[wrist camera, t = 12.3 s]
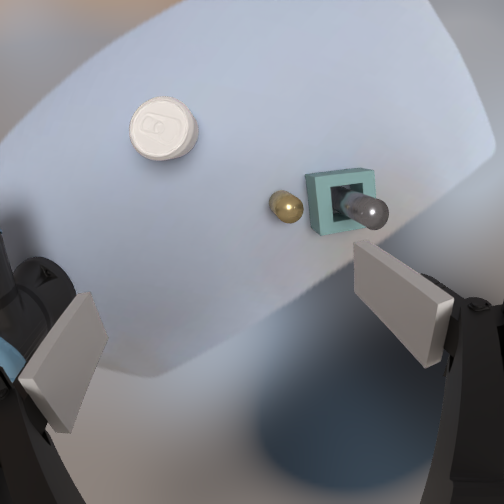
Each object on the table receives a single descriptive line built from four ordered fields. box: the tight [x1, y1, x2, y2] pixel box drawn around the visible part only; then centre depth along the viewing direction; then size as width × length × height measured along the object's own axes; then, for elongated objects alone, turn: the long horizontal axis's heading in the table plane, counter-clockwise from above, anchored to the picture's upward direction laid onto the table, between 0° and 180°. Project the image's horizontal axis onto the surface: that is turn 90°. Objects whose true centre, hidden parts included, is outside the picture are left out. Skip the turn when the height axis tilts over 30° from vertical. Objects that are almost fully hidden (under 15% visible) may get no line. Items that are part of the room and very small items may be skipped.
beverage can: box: [129, 96, 199, 161], centre depth 38 cm, size 8×8×12 cm
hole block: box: [305, 168, 376, 236], centre depth 47 cm, size 10×9×5 cm
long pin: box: [330, 186, 389, 230], centre depth 43 cm, size 4×4×14 cm
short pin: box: [269, 190, 304, 223], centre depth 46 cm, size 4×4×6 cm
